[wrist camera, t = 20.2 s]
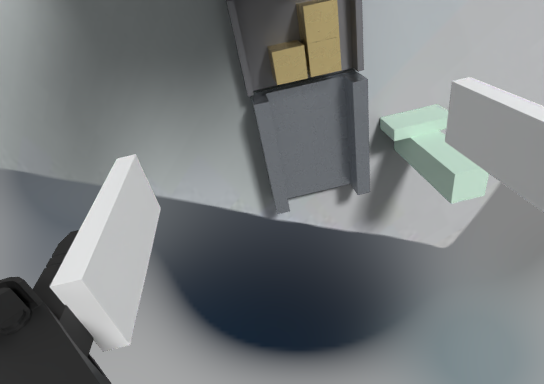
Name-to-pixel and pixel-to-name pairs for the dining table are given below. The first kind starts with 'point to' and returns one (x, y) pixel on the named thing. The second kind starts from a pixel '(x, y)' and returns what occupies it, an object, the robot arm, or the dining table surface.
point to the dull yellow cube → (318, 20)
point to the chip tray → (286, 35)
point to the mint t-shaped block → (434, 153)
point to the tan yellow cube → (322, 56)
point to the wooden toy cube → (288, 62)
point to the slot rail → (315, 135)
